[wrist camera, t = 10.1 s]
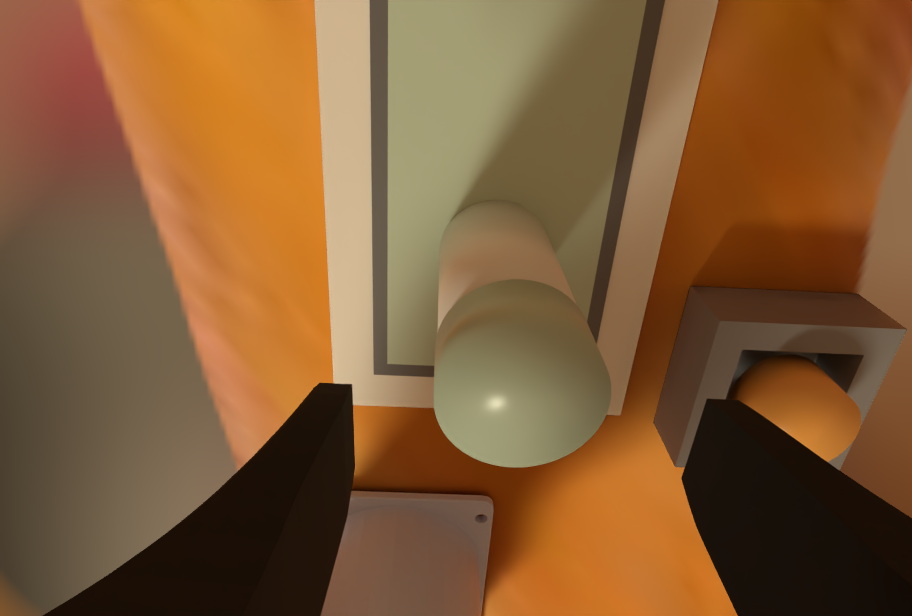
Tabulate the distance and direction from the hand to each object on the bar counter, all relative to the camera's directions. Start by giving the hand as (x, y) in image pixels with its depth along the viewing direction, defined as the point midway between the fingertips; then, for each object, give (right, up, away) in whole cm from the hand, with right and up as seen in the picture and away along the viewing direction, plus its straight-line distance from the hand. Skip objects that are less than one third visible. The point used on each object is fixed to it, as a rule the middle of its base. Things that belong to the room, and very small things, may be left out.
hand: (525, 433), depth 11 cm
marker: (0, +4, +8) cm, 9 cm away
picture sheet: (0, +7, +7) cm, 10 cm away
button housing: (+10, 0, +10) cm, 14 cm away
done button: (+10, -1, +9) cm, 13 cm away
